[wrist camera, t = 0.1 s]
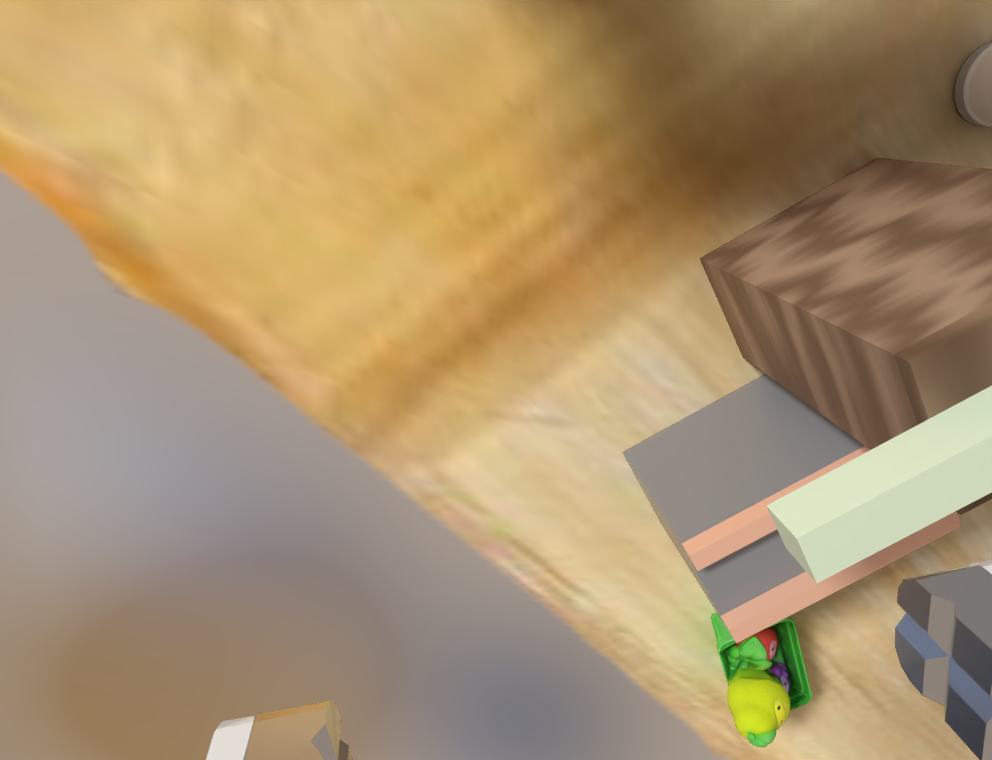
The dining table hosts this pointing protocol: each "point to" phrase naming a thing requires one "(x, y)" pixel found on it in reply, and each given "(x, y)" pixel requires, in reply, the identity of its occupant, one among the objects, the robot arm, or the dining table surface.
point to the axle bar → (890, 490)
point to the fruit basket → (763, 678)
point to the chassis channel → (751, 500)
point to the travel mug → (976, 87)
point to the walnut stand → (870, 296)
